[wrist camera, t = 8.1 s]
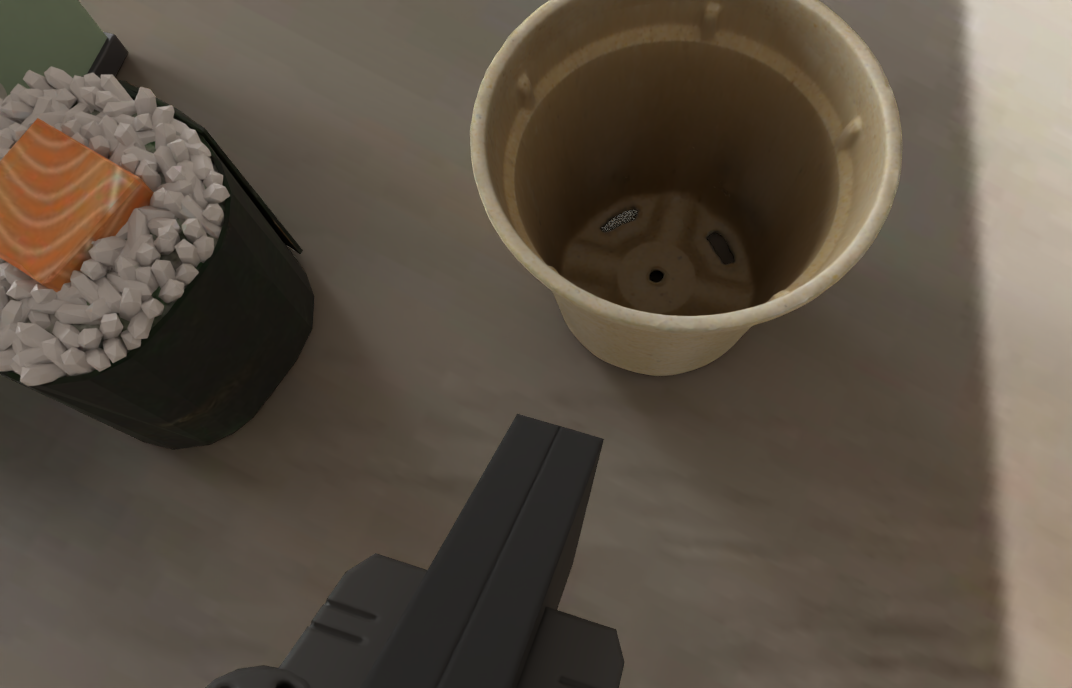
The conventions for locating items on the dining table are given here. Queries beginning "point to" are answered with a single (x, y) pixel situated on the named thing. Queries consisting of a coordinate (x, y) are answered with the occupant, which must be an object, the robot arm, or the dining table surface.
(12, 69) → the toaster
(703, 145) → the flower pot
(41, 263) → the sushi
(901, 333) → the dining table surface
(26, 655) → the dining table surface
